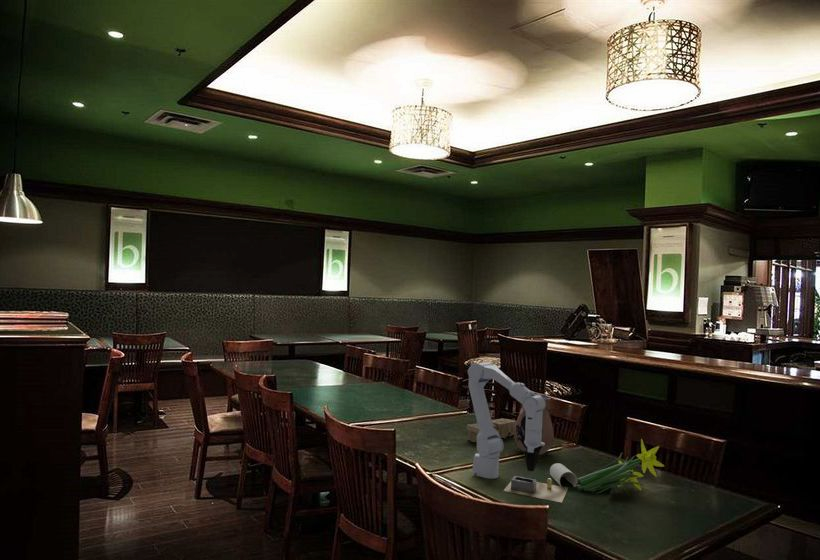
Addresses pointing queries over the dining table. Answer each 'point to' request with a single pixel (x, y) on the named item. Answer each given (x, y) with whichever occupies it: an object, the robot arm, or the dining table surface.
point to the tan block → (500, 425)
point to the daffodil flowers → (620, 472)
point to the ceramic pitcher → (546, 429)
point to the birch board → (544, 492)
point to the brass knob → (549, 483)
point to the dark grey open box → (523, 484)
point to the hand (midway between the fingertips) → (531, 467)
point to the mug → (562, 474)
